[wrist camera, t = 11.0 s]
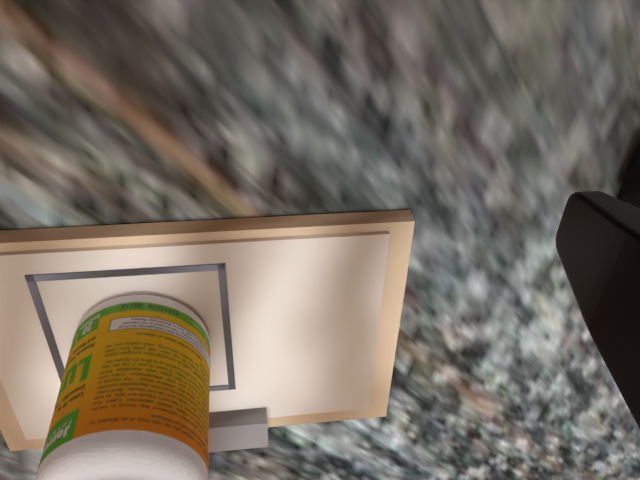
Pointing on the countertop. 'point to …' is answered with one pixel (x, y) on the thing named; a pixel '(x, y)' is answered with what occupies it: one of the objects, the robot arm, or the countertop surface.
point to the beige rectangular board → (218, 313)
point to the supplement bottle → (132, 396)
